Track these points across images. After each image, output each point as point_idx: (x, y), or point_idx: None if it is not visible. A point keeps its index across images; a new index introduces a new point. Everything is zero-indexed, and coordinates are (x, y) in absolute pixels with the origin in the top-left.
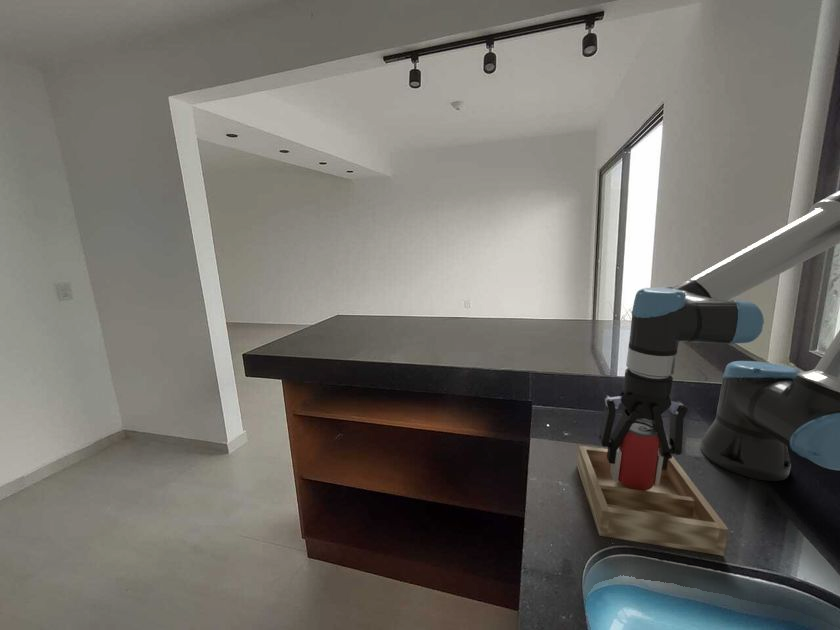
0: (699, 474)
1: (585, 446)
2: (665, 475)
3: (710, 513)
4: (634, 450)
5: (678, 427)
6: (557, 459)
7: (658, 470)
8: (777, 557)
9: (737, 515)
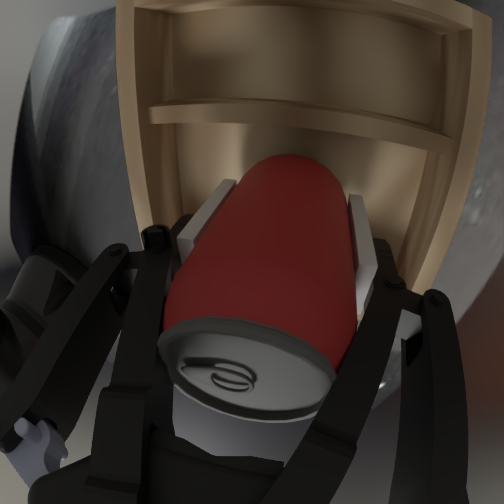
0: None
1: None
2: None
3: (130, 41)
4: (322, 249)
5: (52, 346)
6: None
7: (212, 206)
8: (76, 49)
9: (91, 144)
